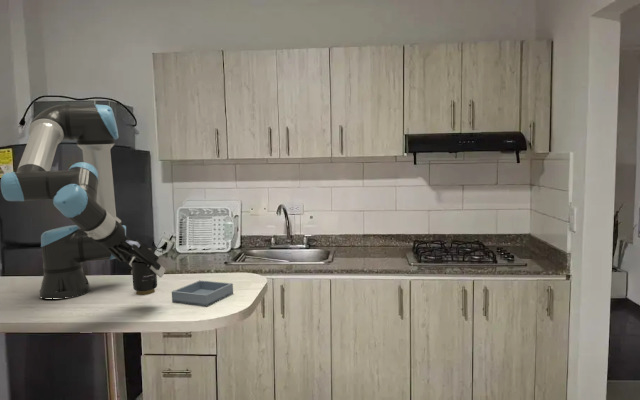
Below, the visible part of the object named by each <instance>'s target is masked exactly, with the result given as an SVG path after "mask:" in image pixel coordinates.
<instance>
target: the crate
mask: <svg viewBox="0 0 640 400" xmlns="http://www.w3.org/2000/svg"><path fill="white" fill-rule="evenodd" d="M233 285H234V284H233V283H230V282H221V281H220V282H219V281H212V280H211V281H210V280H197V281H194V282H192V283H189V284H187V285H185V286H182V287H180V288H177V289H175V290H173V291H171V301H172V302H171V303H175V304H181V305H182V304H184V305H189V306H199V307H204V308H205V307H206V308H207V307H209V306H211V305H214V304H216V303H218V302H220V301H222V300H224V299H226V298H228V297H230V296H232V295H234V286H233ZM219 300H220V301H219ZM217 301H218V302H217ZM215 302H216V303H215ZM213 303H214V304H213Z"/></svg>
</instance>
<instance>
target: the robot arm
mask: <svg viewBox="0 0 640 400" xmlns="http://www.w3.org/2000/svg"><path fill="white" fill-rule="evenodd" d="M30 122H31V123H30V124H29V127H28V135H29V138H28V139H27V140H28V141H27V143H26V146H25V148H24V151H23V153H22V156H21V159H20V161H19V164H18V166H17V169H16V172H15V171H11V172H5V173H3V174H2V176H1V177H0V178H1V179H0V190H1V191H0V192H1V194H2V197H3V198H4V200H6V201H7V202H26V201H27V202H29V201H41V200H42V201H43V200H52V203H53V207H55V208H56V209H57V210H58V211H59V212H60V213H61V215H62V216H64V217H66V218H67V219H69V220H70V221H71V222H72V223H74V225H66V226H61V227H57V228H52V229H49V230H46V231H44V232H42V234H41V236H40V248H41V258H42V269H43V278H42V281H41V285H40V289H39V298H40V297H42V298H52V299H53V298H65V297H72V296H76V297H78V296H77V295H80V296H82V295H81V294H83V295H85V294H87V293H89V292H90V290H91V288H90V283H89V281H88V278H87V276H86V274H85V272H84V270H83V263H88V262H97V261H105V260H106V261H111V260H114V259H116V260H118V261H119V262H120V263H122V262H124V263H125V264H127V265H129V266H130V267H131V268H132V261H133V260H134V259H135V258H136V257H137V258H138V259H140V260H141V261H143V262H144V263H146V264H148V268H150V269H151V270H152V271H153V272H154V273H156V274H157V277H159V278H163V276H164V273H165V272H166V269H165V267H163V265H162V264H160V263H159V262H158V260H159V256H157V254H156V253H154V252H153V251H150V250H149V249H148V248H149V247H147V246H145V244H143V242H141V240H140V239H138V238H136V239H135V241H134V240H132V239H131V238H130V237H128V236H127V225H124V224H123V225H122V220H121V219H120V218H119V217H118V216H117V211H116V201H115V200H116V199H115V187H114V177H113V168H112V167H113V166H112V154H111V149H112V148H113V147H114V146H115V140H117V139H119V130H118V125H117V122H116V118H115V114H114V111H113V108H112V107H111V106H109V105H108V104H107V105H105V104H97V103H96V104H56V105H53V106H51V107H48V108H46V109H44V110H42V111H41V112H40V113H39V114H37V115H36V116H35V117H34V118H33V119H32V120H31V121H30ZM66 140H67V141H68V140H69V141H74V140H75V141H76V146H77V147H78V148H79V149H80V150H82V158H83V159H82V161H81V162H78V161H77V162H76V163H73V164H72V165H70V167H69V168H68V170H64V169H63V170H51V169H52V165H53V162H54V158H55V154H56V151H57V148H58V145H59V144H61V142H62V141H66ZM88 291H89V292H88ZM84 293H85V294H84ZM72 298H73V297H72Z"/></svg>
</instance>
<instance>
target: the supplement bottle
mask: <svg viewBox="0 0 640 400" xmlns="http://www.w3.org/2000/svg"><path fill="white" fill-rule="evenodd" d="M147 248H148V249H149V250H150V251H152V250H153V249H152V248H149V247H147ZM152 252H153V251H152ZM131 271H132V286H133V287H132V289H133V290H134V291H135V292H136V291H148V290H152V289H155V290H156V288H157V287H158V275H157V274H156V273H154V272H153V271H152V270H151V269H150V268H148V264H146V263H144V262H143V261H141V260H140V259H138V258H137V257H136V258H135V259H134V260H133V261H132V267H131Z"/></svg>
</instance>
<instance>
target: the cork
mask: <svg viewBox="0 0 640 400" xmlns="http://www.w3.org/2000/svg"><path fill="white" fill-rule="evenodd" d="M155 290H156V288H155V289H152V290H148V291H135V292H136V293H135V294H136V295H137V296H147V295H151V294H154V293H155V292H156V291H155Z"/></svg>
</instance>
